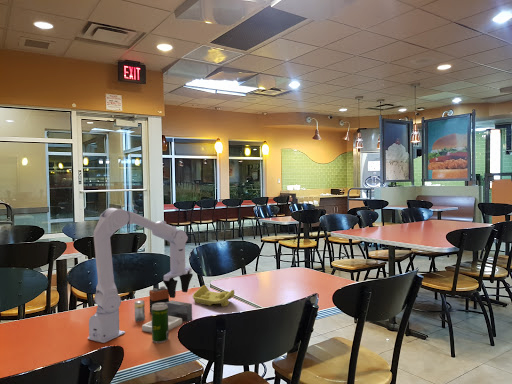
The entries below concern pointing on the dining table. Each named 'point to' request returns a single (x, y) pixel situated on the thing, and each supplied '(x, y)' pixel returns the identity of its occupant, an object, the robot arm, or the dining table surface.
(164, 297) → the battery
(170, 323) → the tray
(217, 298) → the plastic component
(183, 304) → the block
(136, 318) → the silver cylindrical container
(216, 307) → the dining table surface
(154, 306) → the beer can
